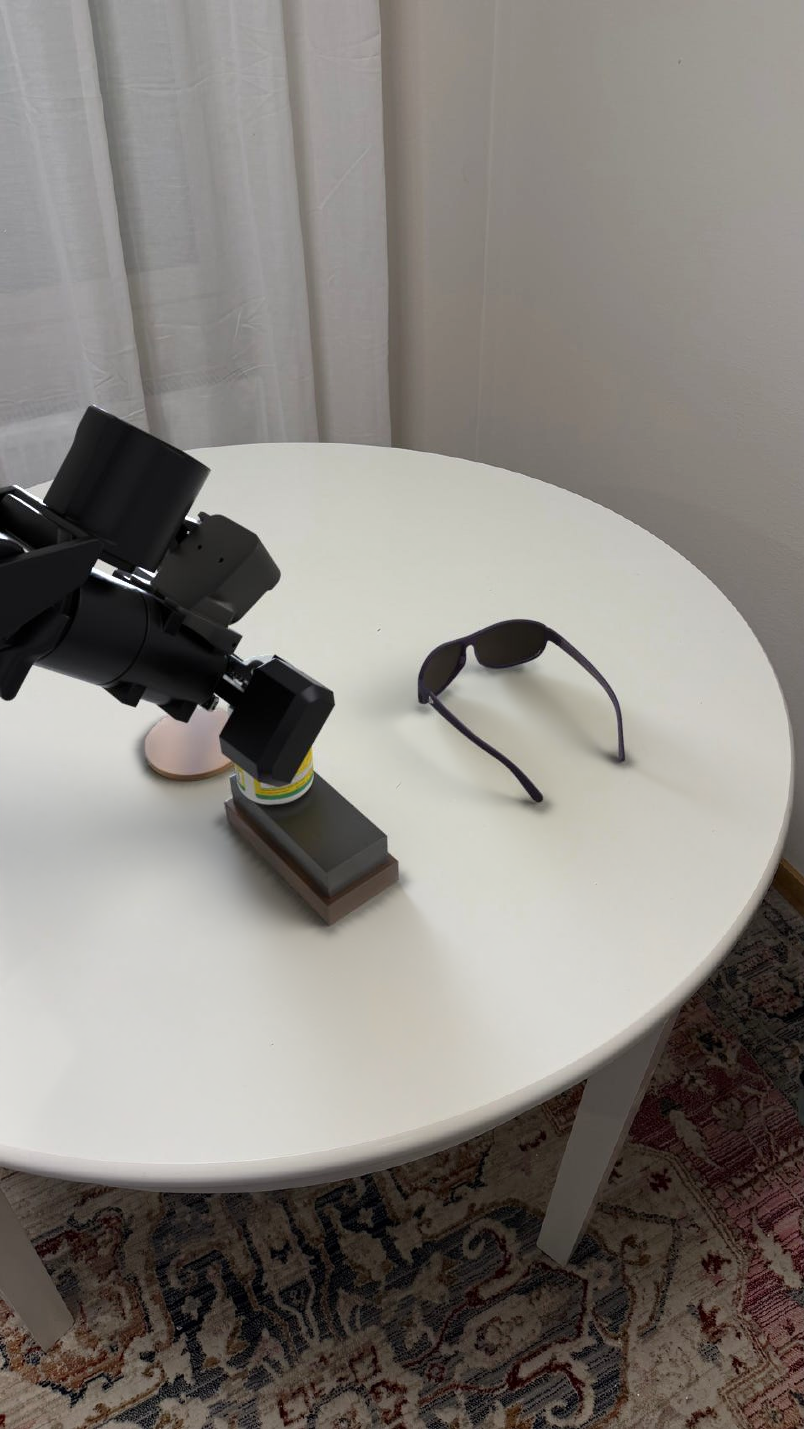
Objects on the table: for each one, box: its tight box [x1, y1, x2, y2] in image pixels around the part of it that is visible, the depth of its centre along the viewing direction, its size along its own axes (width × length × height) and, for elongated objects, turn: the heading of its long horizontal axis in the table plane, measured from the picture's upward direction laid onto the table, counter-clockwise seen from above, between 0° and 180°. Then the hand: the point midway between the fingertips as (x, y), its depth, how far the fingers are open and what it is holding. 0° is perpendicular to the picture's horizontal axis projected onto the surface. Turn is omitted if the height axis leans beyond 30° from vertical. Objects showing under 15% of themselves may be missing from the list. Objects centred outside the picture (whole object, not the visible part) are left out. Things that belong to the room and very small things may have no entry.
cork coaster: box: [143, 707, 235, 782], centre depth 80 cm, size 8×8×1 cm
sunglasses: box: [417, 618, 626, 804], centre depth 80 cm, size 14×16×5 cm
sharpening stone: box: [223, 769, 400, 926], centre depth 70 cm, size 13×6×4 cm, turn 40°
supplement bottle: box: [226, 654, 314, 805], centre depth 67 cm, size 5×5×10 cm
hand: (284, 699), depth 67 cm, fingers closed on supplement bottle, 5 cm apart
